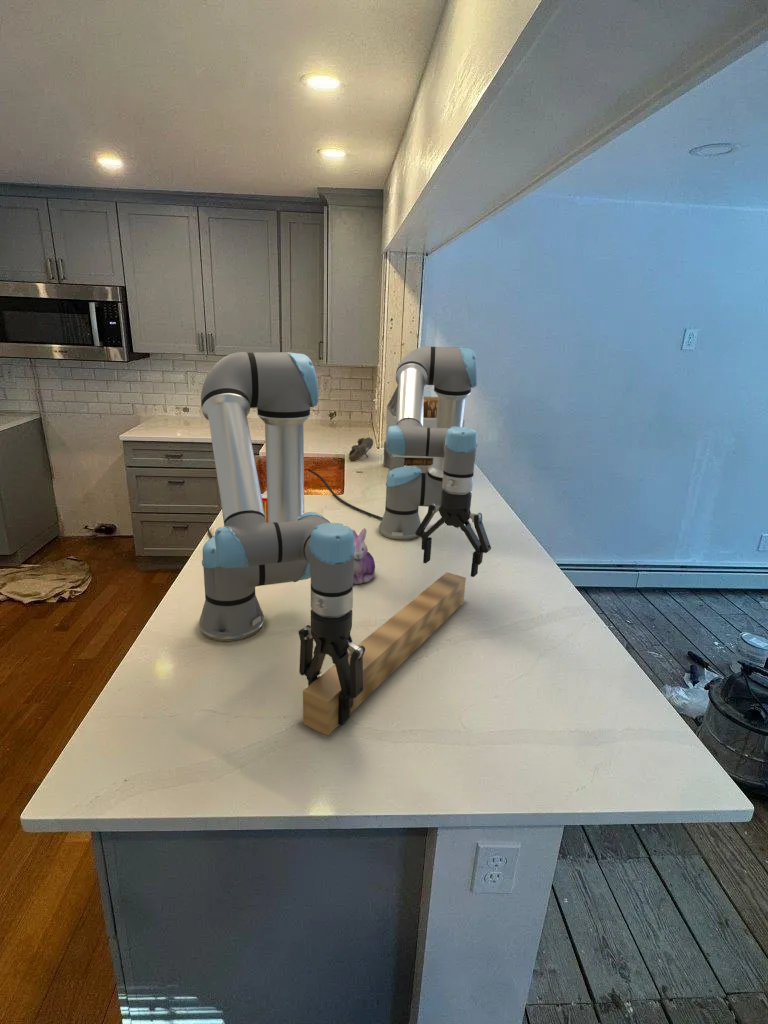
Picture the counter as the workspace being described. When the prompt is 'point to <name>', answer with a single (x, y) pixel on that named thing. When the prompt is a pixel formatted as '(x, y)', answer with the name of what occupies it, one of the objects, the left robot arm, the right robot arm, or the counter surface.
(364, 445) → the fossil
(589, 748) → the counter surface
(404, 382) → the right robot arm
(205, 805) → the counter surface
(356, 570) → the figurine
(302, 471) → the left robot arm
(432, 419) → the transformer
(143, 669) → the counter surface
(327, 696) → the post
